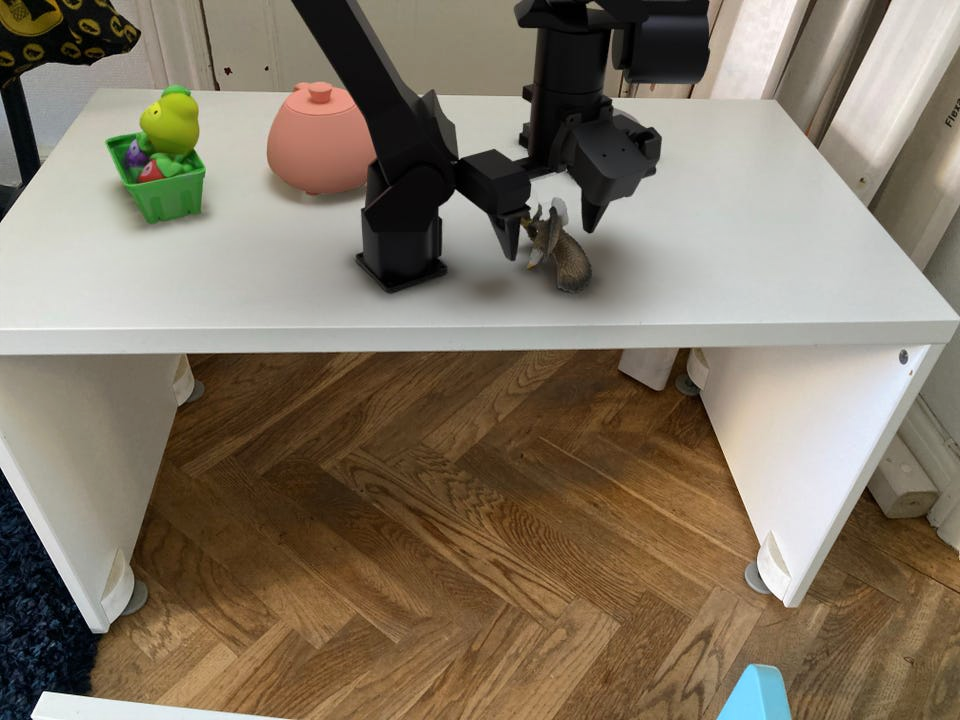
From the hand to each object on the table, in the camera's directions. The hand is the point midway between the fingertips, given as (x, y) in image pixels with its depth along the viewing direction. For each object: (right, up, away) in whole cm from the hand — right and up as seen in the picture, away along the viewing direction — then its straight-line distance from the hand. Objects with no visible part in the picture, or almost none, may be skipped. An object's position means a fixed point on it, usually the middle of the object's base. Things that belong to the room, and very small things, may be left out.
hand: (550, 245), depth 76 cm
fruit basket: (-38, +6, +8) cm, 40 cm away
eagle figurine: (0, -2, +2) cm, 3 cm away
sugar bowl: (-24, +10, +14) cm, 29 cm away
